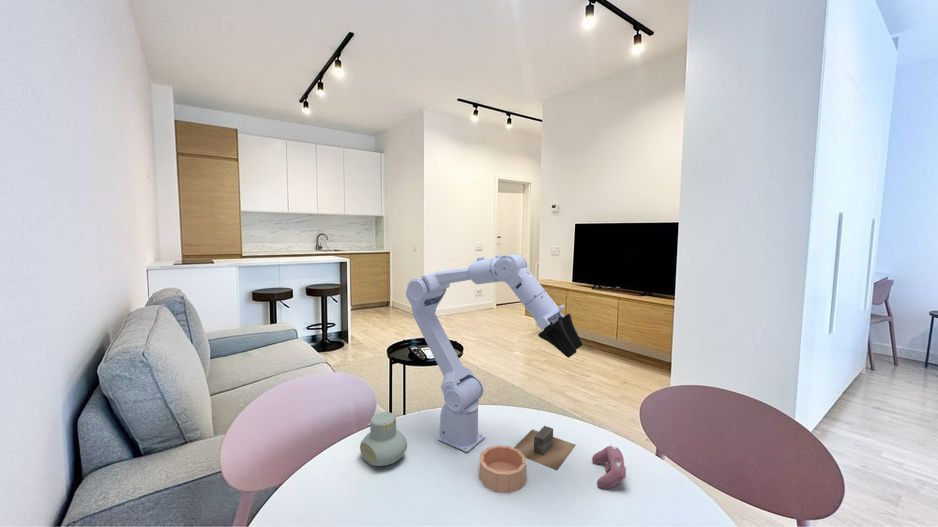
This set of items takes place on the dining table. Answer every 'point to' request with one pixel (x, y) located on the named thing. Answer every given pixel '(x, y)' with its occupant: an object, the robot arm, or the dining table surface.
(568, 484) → the dining table surface
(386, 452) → the air freshener
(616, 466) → the video game controller
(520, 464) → the bowl
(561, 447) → the lid
